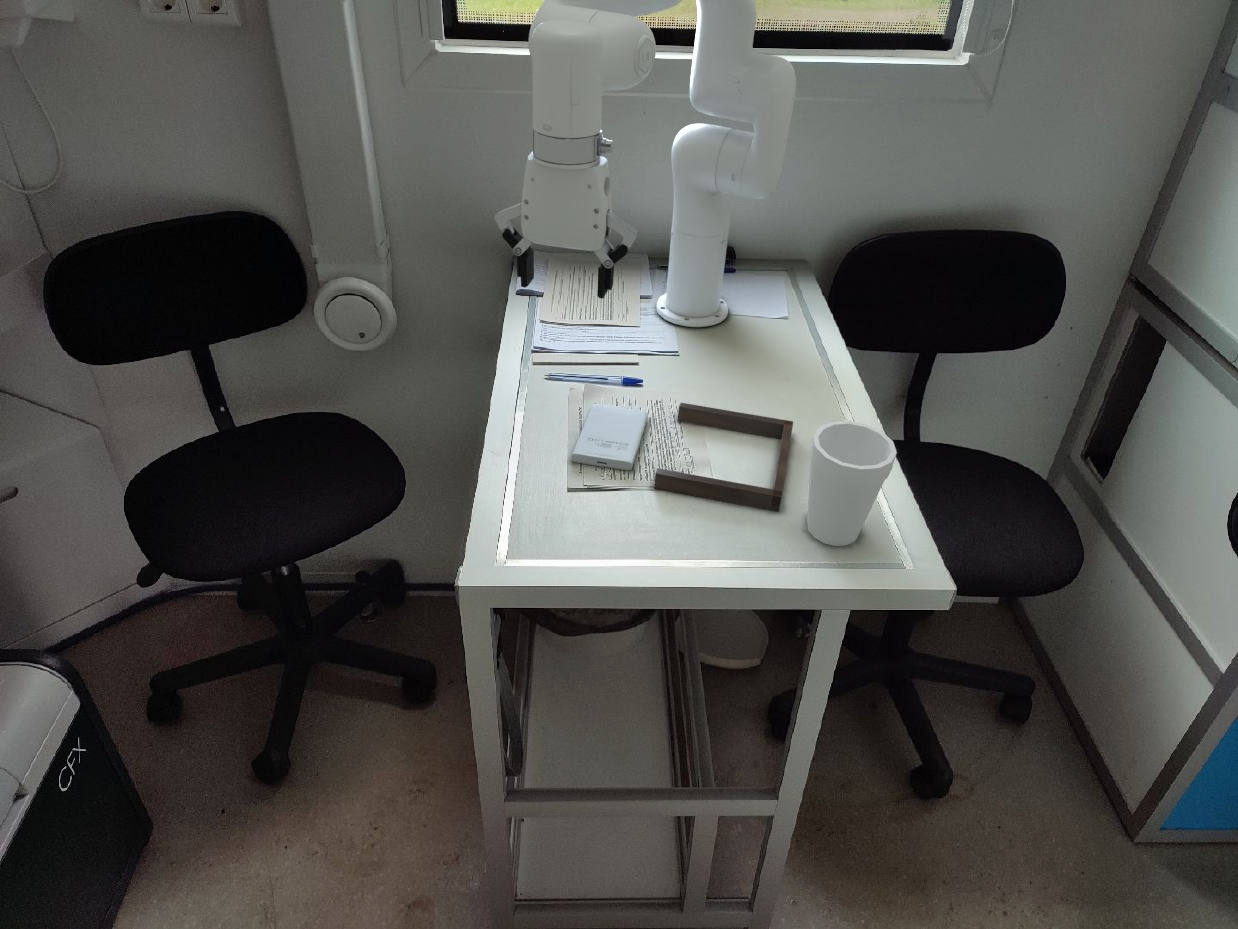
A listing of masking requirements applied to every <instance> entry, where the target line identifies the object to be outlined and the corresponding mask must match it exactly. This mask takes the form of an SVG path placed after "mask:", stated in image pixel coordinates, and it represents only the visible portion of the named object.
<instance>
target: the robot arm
mask: <svg viewBox="0 0 1238 929" xmlns="http://www.w3.org/2000/svg"><path fill="white" fill-rule="evenodd" d="M682 1H683V0H544V1H543V2H542V3H541V5H540V7H538V9H537V11H536V12H535V15H534V17H533V19H532V22H531V25H530V29H529V33H528V52H529V56H530V58H531V86H532V87H531V93H532V94H531V95H532V96H531V97H532V101H531V102H532V106H531V107H532V151H531V152H529V154H528V155H527V158H526V164H525V169H524V176H523V185H522V194H521V201H520V202H519V203H516V204H513V205H510V206H508V207H506V208H503V209H500V210H499V211H498V212H496V214H494V217H493V219H494V221H495V223H496V225H497V227H498V230H499V231H500V232H501V237H502V239H503V240H504V241H505V242H506V243H507V244H508V245H509V247H510V248H511V249H512V252H513V254H514V255H515V256H516V271H517V277H518V278H520V287H521V288H527V287H528V286H530V284H531V283H532V282H533V280H534V278H535V253H534V252H535V251H534V249H533V247H531V245H532V244H535V245H541V246H549V247H555V248H556V247H557V248H562V249H570V250H571V249H572V250H577V251H578V250H579V251H587V252H588V251H589V252H593V253H594V255H595V257H597V259H598V260H599V261H600V265H599V267H598V270H597V291H596V292H597V294H596V295H597V298H598V299H602V300H603V299H604V298H605V296H606V295H607V294H608V291H612V290H613V287H614V276H615V275H614V274H615V265H616V263H618V262H619V261H620V260H621V259H623V258H624V257H625V256H626V255H627V254H628V253H629V251H630V249H631V247H632V246H633V245H634V243H635V241H636V240H637V239H638V236H639V233H640V232H639V230H638V229H637V228H636V227H634V226H633V225H631V224H630V223H628V222H627V221H626V220H623V219H622V218H621V217H619V216H618V215H616V214H615V213H613V211H612V187H611V176H610V169H609V168H610V167H609V163H608V159H607V158H606V157H605V156H602V155H605V154H612V153H613V152H614V141H613V140H609V139H607V138H605V137H604V135H603V132H604V131H603V130H602V119H603V118H602V117H603V116H602V114H603V111H602V110H603V93H604V92H611V91H624V90H630V89H632V88H634V87H636V86H638V85H639V84H641V83H642V82H643V81H645V79H646V78H647V77H648V76H649V74H650V72H651V70H652V68H653V66H654V63H655V60H656V52H657V47H656V46H657V45H656V39H655V37H654V33H653V31H652V30H651V28H650V27H649V25H648V24H647V23H646V22H645V21H643V20H642V19H640V18H639V17H642V16H648V15H652V14H657V13H659V12H663V11H667V10H669V9H672V8H674V7H676V6H677V5H679V4H680V3H681V2H682ZM695 2H696V9H697V15H696V16H697V18H696V30H695V38H694V47H693V54H692V62H691V71H690V80H689V100H690V105H691V106H692V108H694V109H695V111H696V112H699V113H701V114H705V115H707V116H710V117H716V118H721V119H726V120H731V121H737V122H741V123H742V122H743V123H746V124H747V123H748V124H751V125H752V127H753V131H752V132H751V131H746V130H740V129H736V128H733V127H729V126H728V127H727V126H726V127H725V126H722V125H716V124H712V123H692V124H689V125H686V126H684V127H683V128H681V129H680V130H679V131H678V133H677V134H676V135H675V137H674V140H673V142H672V145H671V146H672V147H671V154H670V160H671V163H670V164H671V172H672V174H671V175H672V185H673V204H672V205H673V206H672V218H671V219H672V220H671V230H670V231H671V232H670V244H669V256H668V267H667V281H666V292H665V293H664V294H662V295H660V296H659V298H658V299H657V300H656V306H655V307H656V313H657V314H658V315H659V316H660V317H661V318H662V319H664V320H665V321H666V322H667V321H668V322H669V323H672V324H674V325H677V326H682V327H687V328H688V327H689V328H705V327H707V328H708V327H712V326H715V325H717V324H720V323H721V322H723V321H724V320H726V318H727V317H728V315H729V306H728V303H727V302H726V301H725V300H724V299H723V298H721V297H722V290H723V281H724V273H725V265H726V257H727V248H728V242H729V233H730V226H731V212H730V207H729V204H728V201H727V199H726V196H725V195H726V194H727V195H730V196H735V197H740V198H744V199H750V200H759V201H760V200H765V199H768V198H770V197H771V196H772V195H773V194H774V192H775V191H776V189H777V187H778V185H779V182H780V180H781V176H782V170H783V167H784V163H785V162H784V161H785V156H786V151H787V146H788V139H789V134H790V128H791V122H792V118H793V111H794V108H795V101H796V94H797V93H796V92H797V77H796V72H795V69H794V66H793V65H792V63H791V62H790V61H789V60H788V59H786V58H785V57H781V56H778V55H774V54H773V55H772V54H767V53H760V52H755V51H754V47H753V44H754V38H755V37H754V36H755V31H756V30H755V29H756V24H757V8H756V4H755V1H754V0H695ZM724 194H725V195H724ZM519 217H520V230H521V233H519V231H518V230H517V229H516V228H515V227H514V226H513V223H512V220H514V219H517V218H519ZM612 230H613V231H614V232H615V233H616V234H618V235H619V236H621V238H622V241H621V242H619V244H617V245H616V246H615V247H614V246H613V244H612V243H611V242H610V240H609V239H608V238H610V237H611V232H612Z"/></svg>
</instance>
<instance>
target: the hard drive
mask: <svg viewBox="0 0 1238 929" xmlns="http://www.w3.org/2000/svg"><path fill="white" fill-rule="evenodd" d="M648 418H649V412H648V411H647V410H641V409H635V408H630V407H629V408H628V407H623V406H622V407H621V406H616V405H608V404H602V403H601V404H600V403H593V404H592V405H591V407H590V409H589V413H588V415H587V416H586V420H585V422H584V425H583V427H582V430H581V432H580V435H579V436H578V439H577V441H576V444H575V447H574V449H573V451H572V454H571V461H572V462H573V463H576V464H583V465H589V466H595V467H600V468H601V467H602V468H609V469H616V470H622V471H632V470H633V467H634V464H635V460H636V458H637V455H638V450H639V447H640V444H641V441H642V437H643V434H644V431H645V428H646V424H647V421H648Z"/></svg>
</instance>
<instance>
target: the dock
mask: <svg viewBox="0 0 1238 929" xmlns="http://www.w3.org/2000/svg"><path fill="white" fill-rule="evenodd" d="M677 422H681V423H688V424H693V425H700V426H706V427H710V428H718V429H721V430H728V431H734V432H741V433H746V434H752V435H757V436H763V437H768V438H769V437H770V438H776V439H780V444H779V450H778V457H777V463H776V469H775V474H774V481H773V488H767V487H763V486H757V485H753V484H752V485H751V484H746V483H741V482H736V481H730V480H724V479H718V478H713V477H708V476H702V475H697V474H692V473H685V472H681V471H676V470H675V471H674V470H669V469H663V468H658V467H657V468H656V470H655V473H654V485H653V486H654V487H653V489H654V490H660V491H666V492H671V493H676V494H681V495H688V496H693V497H698V498H703V499H709V500H714V501H719V502H725V503H729V504H735V505H740V506H746V507H750V508H751V507H752V508H756V509H761V510H768V511H773V512H780V509H781V505H782V504H781V503H782V498H783V492H784V486H785V480H786V472H787V466H788V460H789V452H790V447H791V440H792V434H793V433H792V432H793V427H794V421H792V420H789V419H788V420H787V419H782V418H781V419H780V418H775V417H769V416H764V415H763V416H762V415H757V414H753V413H745V412H741V411H740V412H739V411H733V410H727V409H721V408H717V407H709V406H705V405H704V406H703V405H697V404H692V403H687V402H679V405H678V413H677Z"/></svg>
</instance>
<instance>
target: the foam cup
mask: <svg viewBox="0 0 1238 929" xmlns="http://www.w3.org/2000/svg"><path fill="white" fill-rule="evenodd" d="M897 454H898V452H897V448H896V446H895V443H894V441H893V440H892V439H891V438H890V437H889V436H888V435H886V434H885V432H883V431H882V430H881V429H878V428H875V427H873V426H872V425H869V424H866V423H863V422H856V421H852V420H839V421H838V420H837V421H830V422H828V423H825V424H824V425H821V426H819V427H818V428H817V430H816V431H815V432H814V434H813V435H812V439H811V444H810V448H809V458H810V464H809V465H810V468H809V480H808V481H809V483H808V498H807V499H808V500H807V516H806V520H807V521H806V524H807V525H806V526H807V530H808V532H809V533H810V534H811V536H812V537H813V538H814V539H816V540H817V541H819V542H821V543H823V544H824V545H825V544H826V545H829V546H834V547H840V546H842V547H843V546H849V545H851V544H853V543H855V542H856V540H857V539H858V537H859V534H860V533H861V530H862V529H863V526H864V524H865V523H866V520H867V519H868V516H869V513H870V511H871V509H872V508H873V506H874V504H875V502H876V499H877V497H878V495H879V494H880V491H881V488H882V487H883V484H884V482H885V481H886V480H887V479H888V478H889V476H890V474H891V471H892V470H893V467H894V463H895V460H896V456H897Z"/></svg>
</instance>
